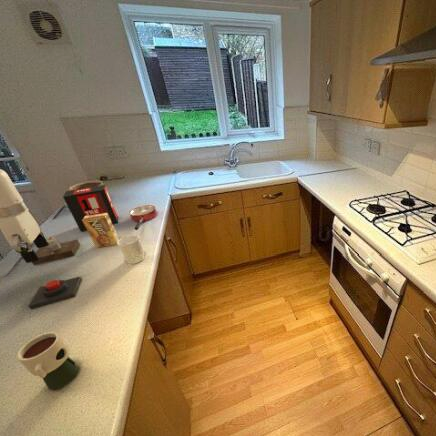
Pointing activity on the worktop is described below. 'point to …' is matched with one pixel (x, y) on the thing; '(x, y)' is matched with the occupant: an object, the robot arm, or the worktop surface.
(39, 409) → the worktop surface
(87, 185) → the cooking pot
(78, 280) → the button block
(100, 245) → the candy box
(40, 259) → the base
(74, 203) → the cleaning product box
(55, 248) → the tap knob
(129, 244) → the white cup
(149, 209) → the frying pan
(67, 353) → the character mug
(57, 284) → the button
